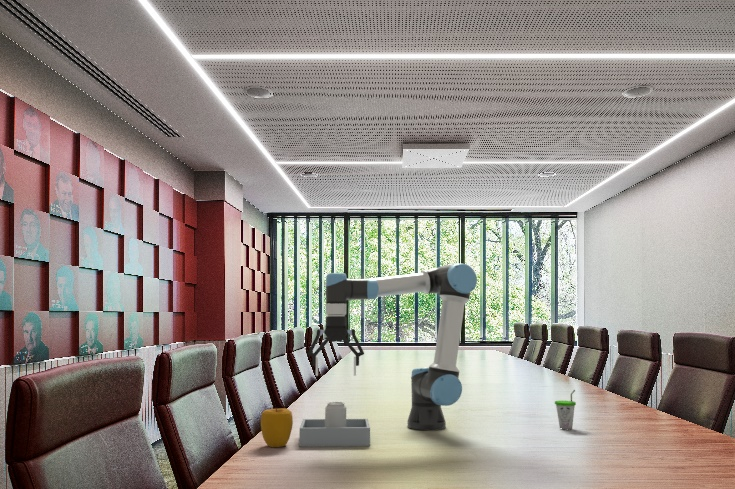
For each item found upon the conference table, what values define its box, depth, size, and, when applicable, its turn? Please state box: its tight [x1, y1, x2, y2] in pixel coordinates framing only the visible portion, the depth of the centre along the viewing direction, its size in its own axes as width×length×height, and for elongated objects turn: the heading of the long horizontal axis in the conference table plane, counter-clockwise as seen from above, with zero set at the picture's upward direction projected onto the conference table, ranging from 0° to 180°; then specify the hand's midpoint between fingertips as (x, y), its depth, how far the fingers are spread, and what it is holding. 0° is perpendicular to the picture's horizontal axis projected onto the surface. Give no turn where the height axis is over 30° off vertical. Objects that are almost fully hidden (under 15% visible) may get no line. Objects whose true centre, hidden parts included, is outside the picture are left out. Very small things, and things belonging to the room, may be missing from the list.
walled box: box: [298, 418, 371, 447], centre depth 218 cm, size 24×18×6 cm
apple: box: [260, 407, 294, 448], centre depth 210 cm, size 11×11×13 cm
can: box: [324, 401, 347, 428], centre depth 219 cm, size 8×8×12 cm
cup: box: [554, 389, 577, 430], centre depth 241 cm, size 8×8×15 cm
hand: (335, 375), depth 221 cm, fingers open, 13 cm apart
